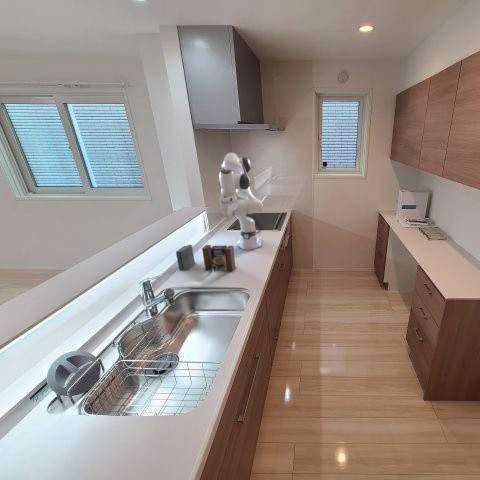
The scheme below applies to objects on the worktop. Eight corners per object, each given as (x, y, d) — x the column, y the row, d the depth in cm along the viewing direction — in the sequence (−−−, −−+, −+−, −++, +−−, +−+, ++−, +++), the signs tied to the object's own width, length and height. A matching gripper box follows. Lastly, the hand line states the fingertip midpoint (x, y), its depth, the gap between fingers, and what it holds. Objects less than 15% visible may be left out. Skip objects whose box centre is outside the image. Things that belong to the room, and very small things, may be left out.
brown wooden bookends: (209, 266, 169) (206, 244, 163) (235, 267, 169) (233, 245, 163) (205, 270, 164) (202, 248, 158) (232, 271, 163) (230, 249, 158)
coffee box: (213, 271, 162) (209, 249, 157) (215, 267, 168) (212, 245, 163) (227, 271, 164) (224, 248, 158) (229, 266, 170) (226, 245, 164)
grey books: (187, 263, 173) (183, 244, 168) (194, 263, 173) (191, 244, 168) (179, 269, 164) (175, 250, 159) (187, 270, 164) (183, 250, 159)
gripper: (230, 193, 163) (232, 213, 169) (217, 200, 144) (220, 222, 150) (239, 193, 163) (241, 213, 168) (228, 200, 144) (230, 223, 149)
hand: (231, 218), depth 159 cm, fingers open, 8 cm apart
